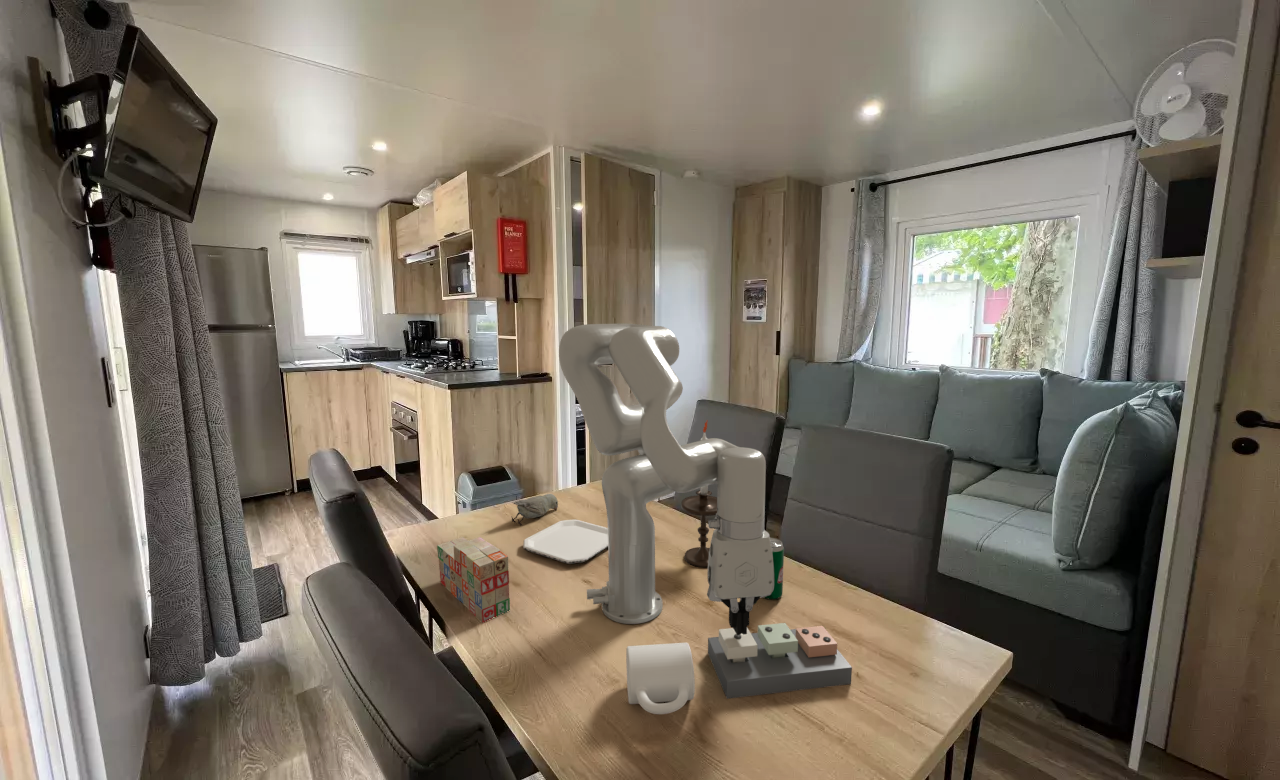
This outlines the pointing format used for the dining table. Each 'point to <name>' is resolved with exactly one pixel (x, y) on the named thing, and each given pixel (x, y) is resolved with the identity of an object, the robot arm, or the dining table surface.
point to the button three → (816, 641)
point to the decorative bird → (535, 506)
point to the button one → (737, 645)
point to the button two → (777, 639)
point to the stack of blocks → (476, 575)
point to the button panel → (776, 671)
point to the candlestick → (703, 508)
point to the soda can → (777, 568)
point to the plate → (569, 541)
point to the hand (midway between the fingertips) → (738, 629)
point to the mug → (660, 676)
